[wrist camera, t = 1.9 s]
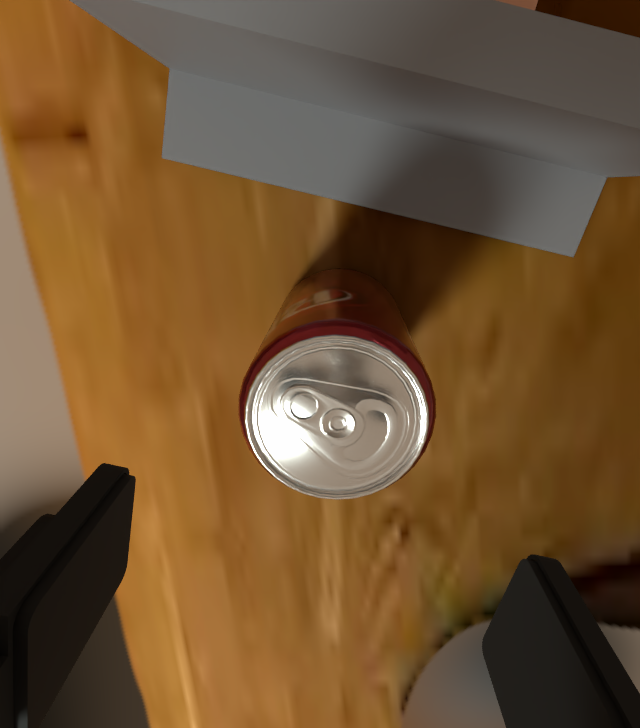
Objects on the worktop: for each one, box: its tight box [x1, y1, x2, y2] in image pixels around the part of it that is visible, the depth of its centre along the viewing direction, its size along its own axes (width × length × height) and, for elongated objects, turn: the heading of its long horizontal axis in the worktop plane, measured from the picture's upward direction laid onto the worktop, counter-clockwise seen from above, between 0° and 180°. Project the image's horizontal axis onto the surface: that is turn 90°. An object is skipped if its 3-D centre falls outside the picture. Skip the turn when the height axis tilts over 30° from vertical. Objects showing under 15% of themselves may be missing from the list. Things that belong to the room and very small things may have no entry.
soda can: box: [238, 269, 436, 499], centre depth 22 cm, size 7×7×12 cm
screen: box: [70, 0, 640, 257], centre depth 18 cm, size 6×22×12 cm, turn 77°
